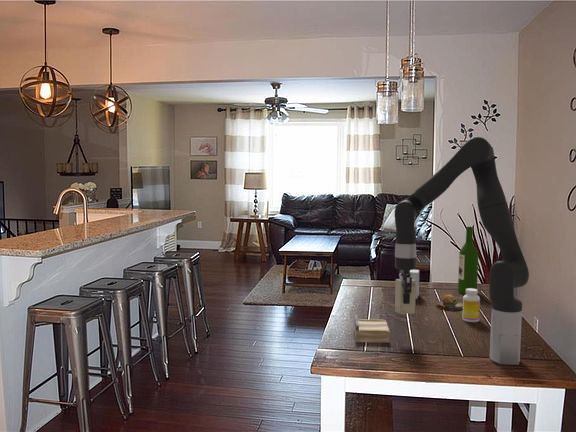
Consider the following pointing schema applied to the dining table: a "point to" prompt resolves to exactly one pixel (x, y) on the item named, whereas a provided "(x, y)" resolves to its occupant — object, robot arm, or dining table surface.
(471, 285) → the wine bottle
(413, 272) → the supplement box
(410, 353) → the dining table surface
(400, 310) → the skincare box
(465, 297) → the supplement bottle
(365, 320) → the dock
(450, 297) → the burger
